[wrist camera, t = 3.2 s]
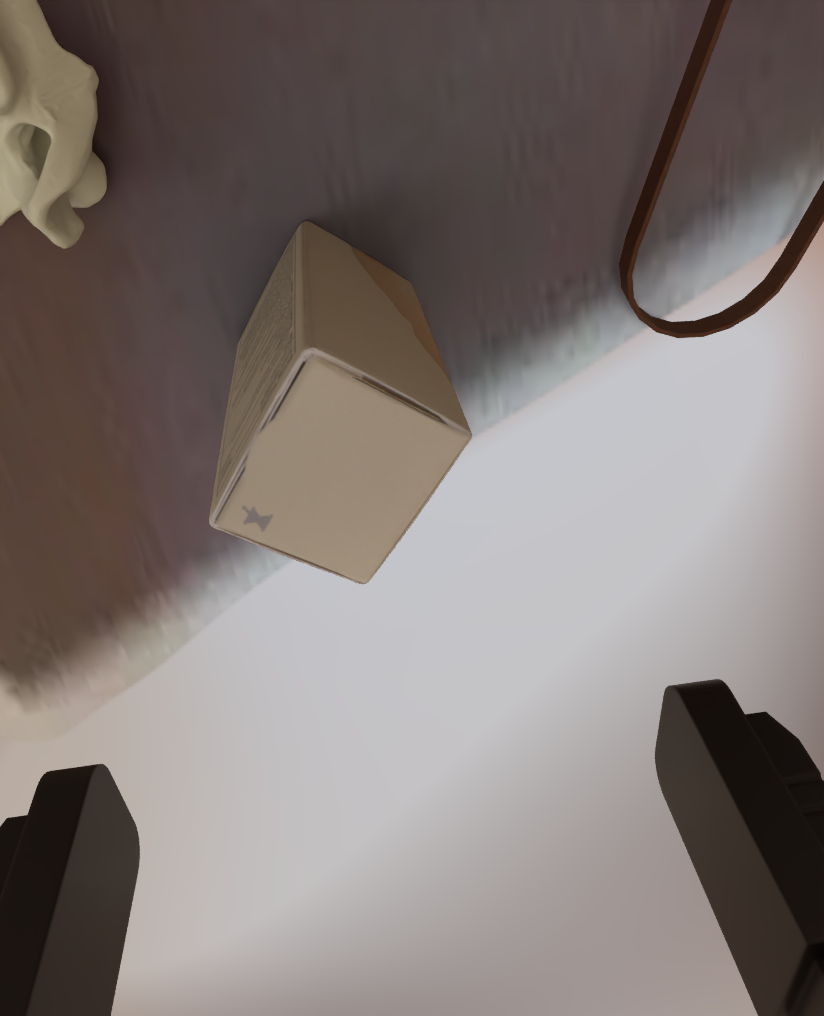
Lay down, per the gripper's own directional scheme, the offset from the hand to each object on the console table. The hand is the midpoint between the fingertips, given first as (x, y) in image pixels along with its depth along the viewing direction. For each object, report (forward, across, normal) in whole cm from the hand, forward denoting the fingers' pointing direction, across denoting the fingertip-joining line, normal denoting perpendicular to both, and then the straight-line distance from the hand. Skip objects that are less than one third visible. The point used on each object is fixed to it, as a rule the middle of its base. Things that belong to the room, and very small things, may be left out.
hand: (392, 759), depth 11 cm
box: (+19, +1, 0) cm, 19 cm away
